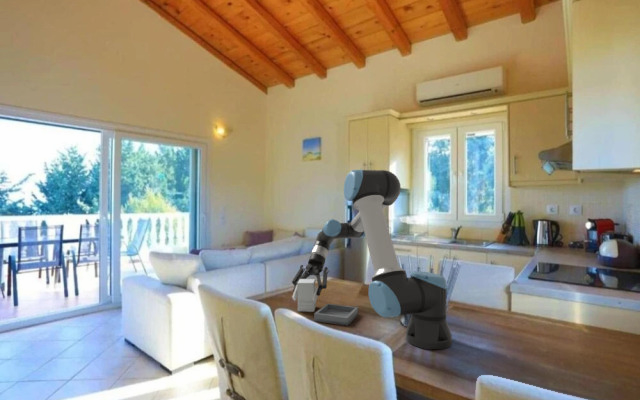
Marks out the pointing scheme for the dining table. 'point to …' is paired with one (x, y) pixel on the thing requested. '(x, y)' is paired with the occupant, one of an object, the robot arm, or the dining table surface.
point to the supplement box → (306, 295)
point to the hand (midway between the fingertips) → (303, 300)
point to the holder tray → (336, 314)
